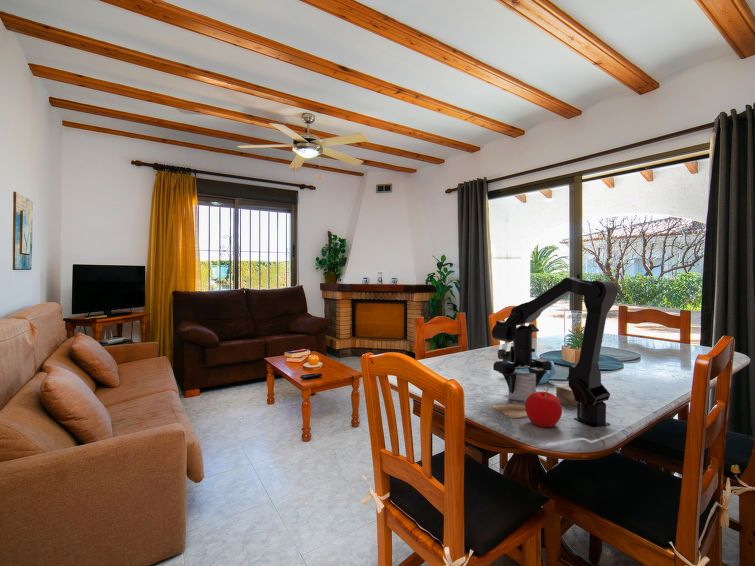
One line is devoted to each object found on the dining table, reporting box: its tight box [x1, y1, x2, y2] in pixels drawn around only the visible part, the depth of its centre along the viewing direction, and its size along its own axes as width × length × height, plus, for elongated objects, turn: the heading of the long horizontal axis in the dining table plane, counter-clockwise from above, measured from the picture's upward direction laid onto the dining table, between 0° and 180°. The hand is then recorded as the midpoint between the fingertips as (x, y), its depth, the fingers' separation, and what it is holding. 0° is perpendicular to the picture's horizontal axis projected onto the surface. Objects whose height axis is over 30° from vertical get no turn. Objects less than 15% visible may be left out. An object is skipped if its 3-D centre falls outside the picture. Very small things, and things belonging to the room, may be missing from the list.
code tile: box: [503, 394, 526, 405], centre depth 120 cm, size 11×6×1 cm, turn 18°
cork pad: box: [492, 402, 528, 420], centre depth 110 cm, size 10×10×1 cm
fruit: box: [525, 388, 563, 428], centre depth 100 cm, size 9×9×10 cm
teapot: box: [506, 353, 558, 385], centre depth 142 cm, size 15×15×11 cm
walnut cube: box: [555, 384, 578, 408], centre depth 117 cm, size 5×5×5 cm
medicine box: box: [507, 371, 537, 402], centre depth 120 cm, size 8×4×9 cm, turn 59°
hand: (522, 392), depth 120 cm, fingers closed on medicine box, 8 cm apart
